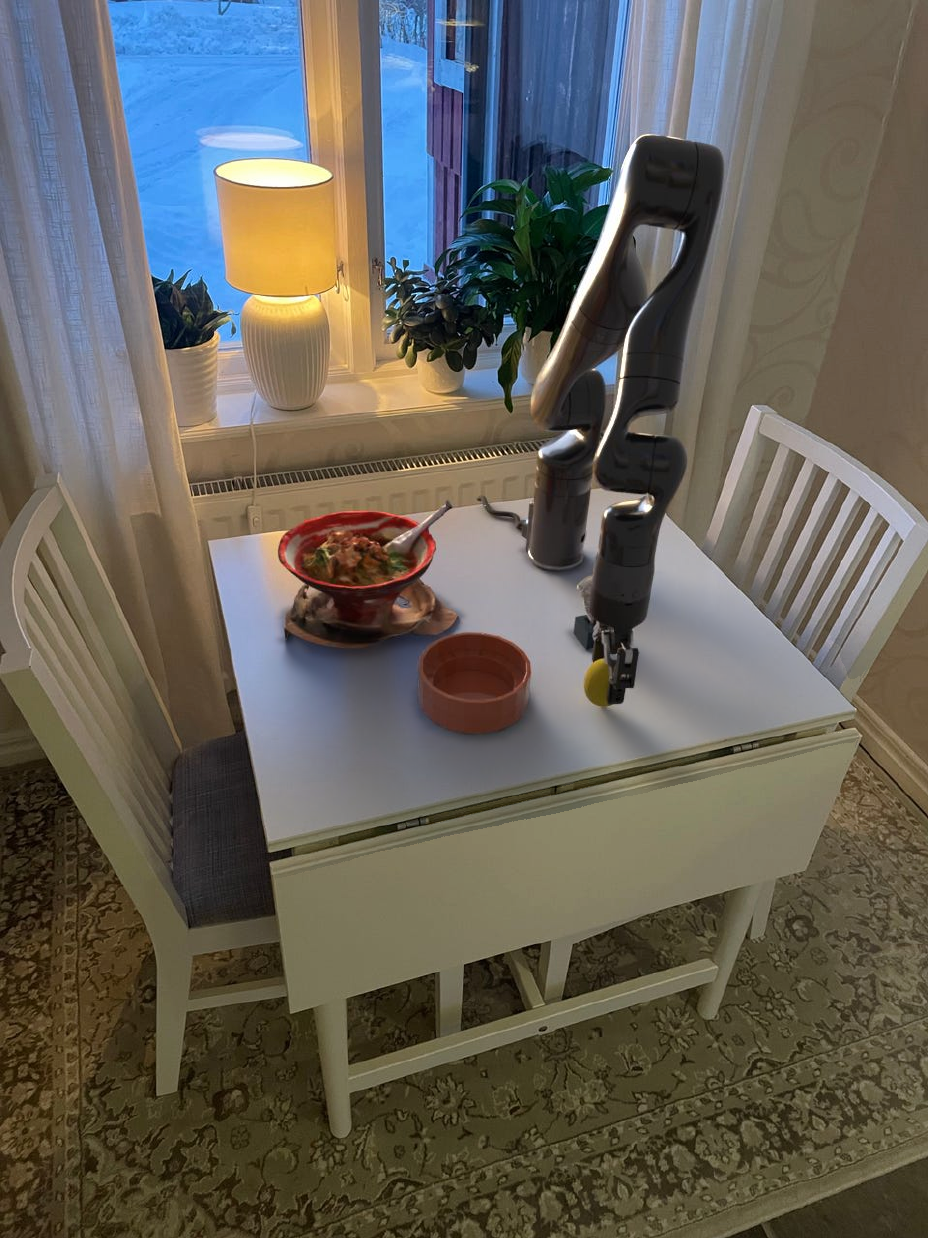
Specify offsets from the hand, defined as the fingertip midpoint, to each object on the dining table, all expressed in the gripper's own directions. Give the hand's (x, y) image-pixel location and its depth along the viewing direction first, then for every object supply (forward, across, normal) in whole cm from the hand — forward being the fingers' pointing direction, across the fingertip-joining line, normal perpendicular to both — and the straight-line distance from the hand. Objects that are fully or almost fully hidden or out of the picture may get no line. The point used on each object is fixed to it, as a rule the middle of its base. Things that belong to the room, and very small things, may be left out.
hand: (606, 682), depth 127 cm
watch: (+4, -16, +2) cm, 16 cm away
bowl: (+4, -3, -18) cm, 19 cm away
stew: (+4, -25, -32) cm, 41 cm away
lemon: (+5, 0, 0) cm, 5 cm away
